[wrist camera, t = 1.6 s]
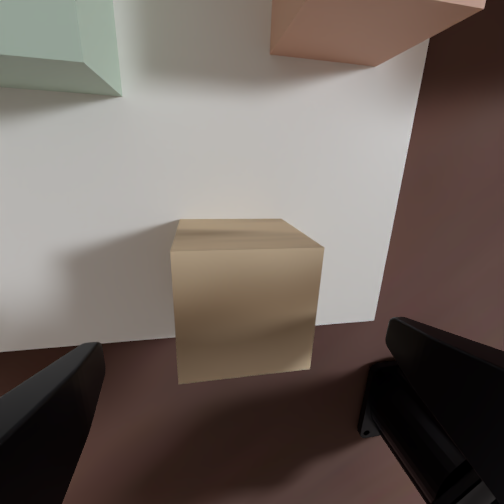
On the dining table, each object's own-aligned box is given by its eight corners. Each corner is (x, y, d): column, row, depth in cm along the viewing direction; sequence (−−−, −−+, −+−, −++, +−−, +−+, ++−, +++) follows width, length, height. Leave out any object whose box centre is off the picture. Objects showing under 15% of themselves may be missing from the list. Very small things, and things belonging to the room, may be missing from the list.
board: (368, 315, 18) (374, 320, 17) (-82, 351, 13) (-94, 360, 12) (447, -103, 11) (460, -117, 11) (-356, -312, 7) (-405, -354, 6)
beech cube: (275, 305, 15) (309, 368, 11) (184, 312, 14) (178, 384, 10) (281, 218, 14) (324, 247, 9) (179, 219, 13) (170, 251, 8)
